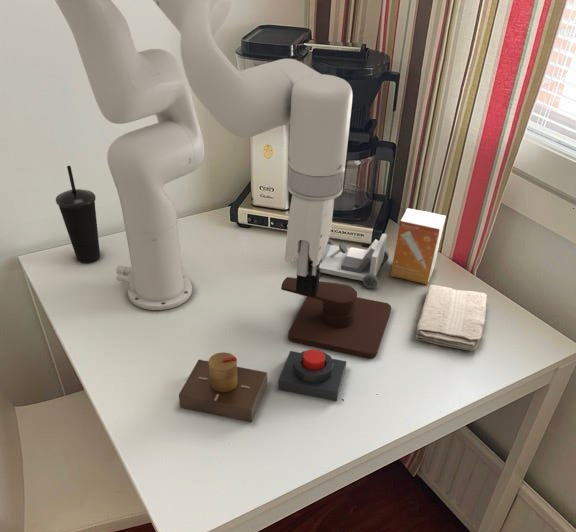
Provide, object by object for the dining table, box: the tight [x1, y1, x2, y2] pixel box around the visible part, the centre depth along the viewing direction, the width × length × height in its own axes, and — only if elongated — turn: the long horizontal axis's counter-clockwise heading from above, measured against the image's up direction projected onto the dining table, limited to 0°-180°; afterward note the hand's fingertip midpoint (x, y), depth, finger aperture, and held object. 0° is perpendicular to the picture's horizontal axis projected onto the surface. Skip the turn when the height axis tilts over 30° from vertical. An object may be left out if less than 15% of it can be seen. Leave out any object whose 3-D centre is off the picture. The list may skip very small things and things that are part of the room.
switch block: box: [277, 350, 347, 402], centre depth 103 cm, size 10×8×4 cm
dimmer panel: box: [178, 359, 268, 423], centre depth 99 cm, size 12×9×3 cm
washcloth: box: [415, 284, 488, 352], centre depth 117 cm, size 12×18×3 cm, turn 163°
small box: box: [390, 207, 447, 286], centre depth 126 cm, size 8×6×13 cm
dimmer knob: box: [208, 351, 238, 392], centre depth 97 cm, size 4×4×5 cm
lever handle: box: [280, 276, 392, 360], centre depth 114 cm, size 16×7×20 cm
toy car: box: [317, 233, 390, 290], centre depth 128 cm, size 18×10×12 cm
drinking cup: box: [55, 165, 101, 264], centre depth 124 cm, size 8×8×20 cm
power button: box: [303, 348, 325, 371], centre depth 101 cm, size 4×4×2 cm
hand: (307, 292), depth 94 cm, fingers closed
